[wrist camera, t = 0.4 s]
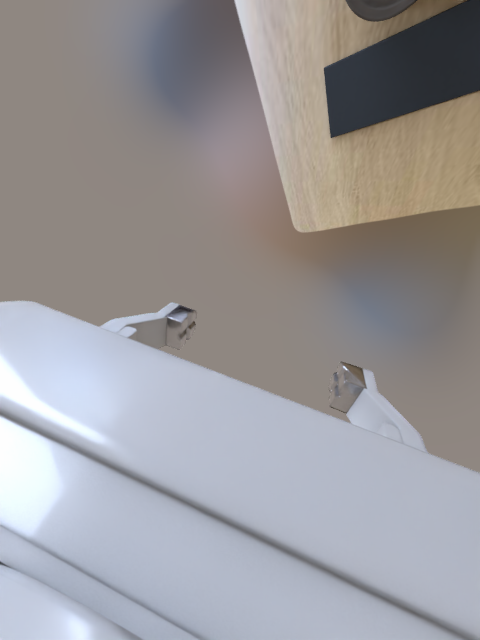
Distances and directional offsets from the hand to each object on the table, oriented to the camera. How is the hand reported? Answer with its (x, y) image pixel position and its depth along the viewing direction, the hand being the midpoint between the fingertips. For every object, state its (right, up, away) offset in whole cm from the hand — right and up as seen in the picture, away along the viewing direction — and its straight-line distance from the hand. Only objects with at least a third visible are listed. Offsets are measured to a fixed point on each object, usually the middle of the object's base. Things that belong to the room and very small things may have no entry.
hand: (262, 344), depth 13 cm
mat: (+24, +39, +24) cm, 52 cm away
